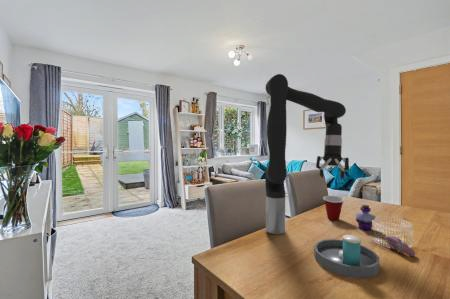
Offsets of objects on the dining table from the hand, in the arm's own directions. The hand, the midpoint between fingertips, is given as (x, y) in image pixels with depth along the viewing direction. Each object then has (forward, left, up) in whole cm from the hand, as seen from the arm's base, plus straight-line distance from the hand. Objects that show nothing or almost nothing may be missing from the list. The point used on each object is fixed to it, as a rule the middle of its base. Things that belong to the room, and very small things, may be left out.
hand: (331, 178), depth 109 cm
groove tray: (-2, -28, -26) cm, 39 cm away
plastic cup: (+5, +19, -26) cm, 33 cm away
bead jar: (-1, -34, -25) cm, 42 cm away
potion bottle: (+17, +7, -26) cm, 32 cm away
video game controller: (+22, -16, -26) cm, 38 cm away
